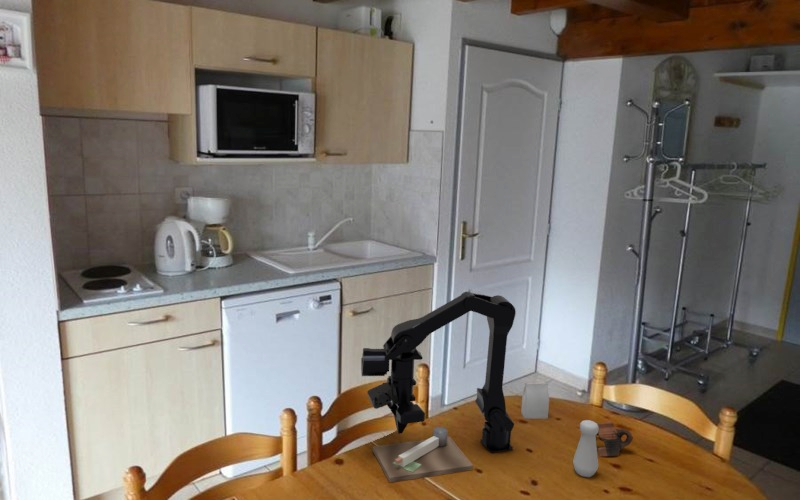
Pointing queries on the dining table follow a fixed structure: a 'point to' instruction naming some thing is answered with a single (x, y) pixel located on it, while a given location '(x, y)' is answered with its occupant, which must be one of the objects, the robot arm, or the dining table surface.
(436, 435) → the lever
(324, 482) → the dining table surface
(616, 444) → the pottery mug
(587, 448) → the salt shaker
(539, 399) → the grey block
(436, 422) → the dining table surface
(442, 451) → the board
